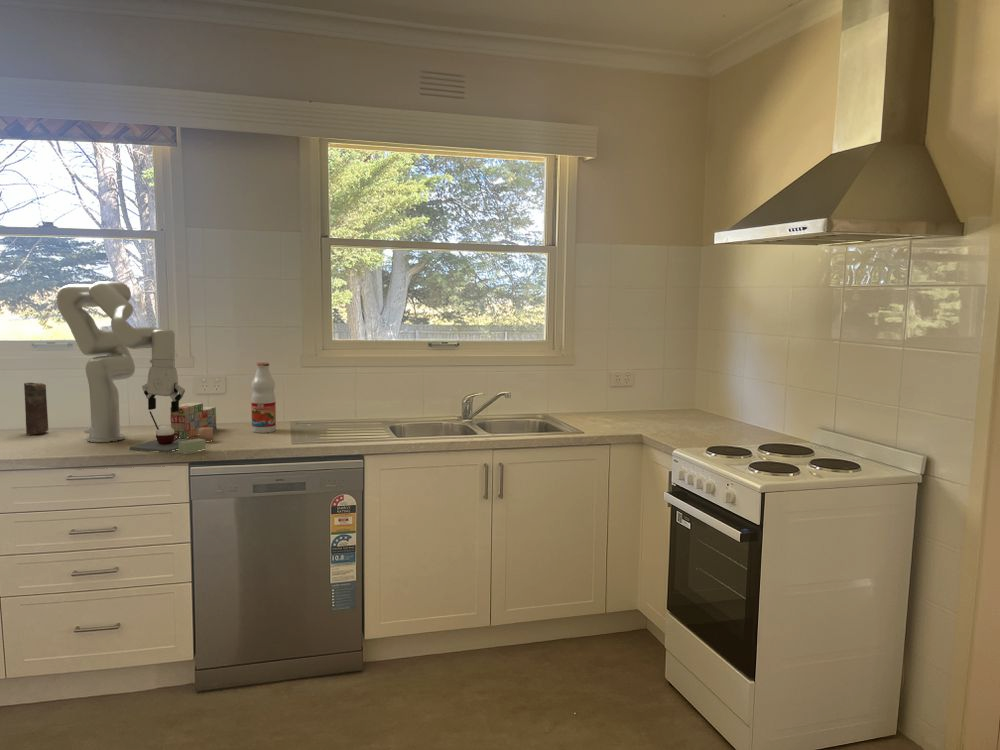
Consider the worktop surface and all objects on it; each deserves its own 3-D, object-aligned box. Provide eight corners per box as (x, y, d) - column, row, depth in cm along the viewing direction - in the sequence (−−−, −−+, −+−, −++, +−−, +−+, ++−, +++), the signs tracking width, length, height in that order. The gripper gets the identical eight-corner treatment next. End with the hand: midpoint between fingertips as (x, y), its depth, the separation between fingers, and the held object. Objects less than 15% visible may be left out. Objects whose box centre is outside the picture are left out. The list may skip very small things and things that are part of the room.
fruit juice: (279, 429, 303) (278, 362, 300) (271, 433, 294) (270, 364, 291) (257, 428, 304) (255, 361, 301) (248, 432, 294) (246, 363, 291)
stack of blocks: (202, 428, 302) (202, 399, 301) (216, 429, 301) (216, 399, 300) (170, 438, 282) (169, 406, 280) (185, 439, 280) (184, 407, 279)
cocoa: (180, 442, 270) (181, 410, 269) (174, 445, 263) (175, 412, 263) (153, 442, 268) (153, 409, 268) (147, 444, 262) (147, 411, 261)
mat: (129, 449, 259) (129, 447, 259) (164, 440, 277) (164, 437, 277) (168, 452, 255) (168, 450, 255) (201, 443, 273) (201, 440, 273)
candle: (30, 432, 288) (27, 381, 286) (51, 431, 290) (48, 381, 288) (23, 435, 281) (20, 384, 278) (45, 435, 283) (42, 383, 280)
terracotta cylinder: (195, 442, 275) (195, 428, 274) (204, 439, 280) (203, 426, 279) (207, 442, 274) (207, 429, 273) (215, 440, 279) (215, 427, 278)
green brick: (178, 453, 257) (178, 441, 256) (199, 449, 263) (198, 438, 263) (185, 454, 254) (185, 443, 254) (205, 450, 261) (205, 439, 261)
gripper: (135, 362, 261) (135, 409, 263) (176, 366, 257) (176, 414, 259) (150, 360, 269) (150, 406, 271) (191, 364, 264) (190, 411, 266)
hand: (163, 410), depth 265 cm, fingers open, 9 cm apart
